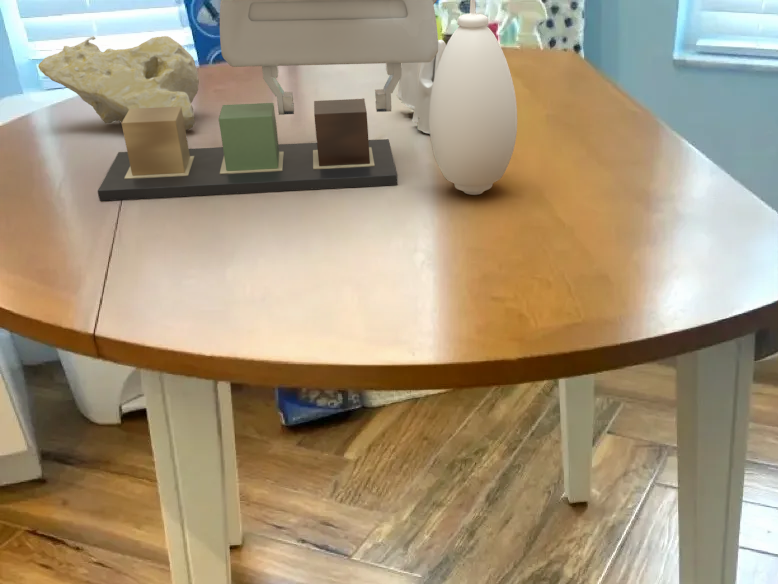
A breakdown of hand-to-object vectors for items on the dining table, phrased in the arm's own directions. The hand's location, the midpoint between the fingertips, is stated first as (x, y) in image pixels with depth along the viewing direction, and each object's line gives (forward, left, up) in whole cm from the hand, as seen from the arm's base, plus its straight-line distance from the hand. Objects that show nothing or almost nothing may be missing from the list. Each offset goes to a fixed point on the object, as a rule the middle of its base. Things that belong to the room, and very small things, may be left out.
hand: (335, 111), depth 94 cm
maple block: (-17, 0, -5) cm, 18 cm away
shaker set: (+10, +15, -6) cm, 19 cm away
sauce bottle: (+12, -9, -6) cm, 16 cm away
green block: (-8, 0, -5) cm, 10 cm away
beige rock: (-24, +19, -6) cm, 31 cm away
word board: (-9, 0, -6) cm, 10 cm away
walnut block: (+1, 0, -5) cm, 5 cm away
